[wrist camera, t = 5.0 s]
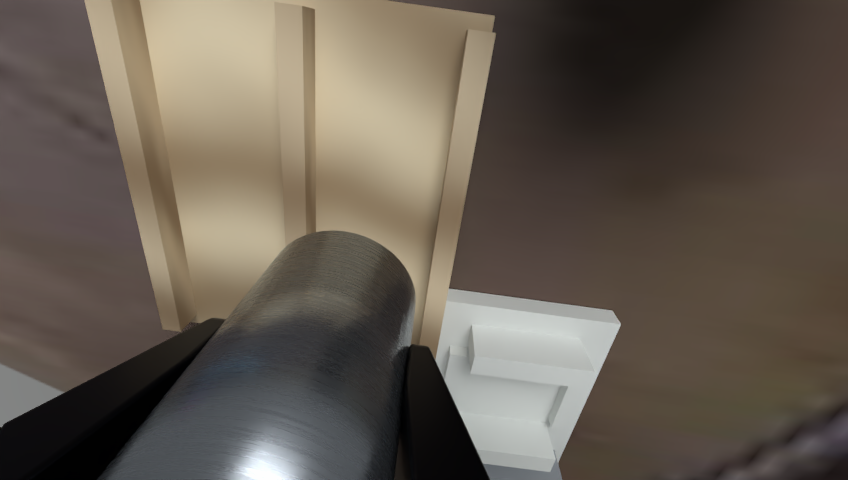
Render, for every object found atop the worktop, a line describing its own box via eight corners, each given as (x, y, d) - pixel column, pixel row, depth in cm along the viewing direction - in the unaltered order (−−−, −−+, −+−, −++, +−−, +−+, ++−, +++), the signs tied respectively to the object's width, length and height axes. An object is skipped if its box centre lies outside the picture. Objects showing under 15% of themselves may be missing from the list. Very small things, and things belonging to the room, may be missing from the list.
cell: (407, 361, 11) (340, 893, 4) (272, 343, 11) (-25, 850, 4) (424, 242, 9) (356, 823, 2) (263, 220, 9) (-285, 743, 2)
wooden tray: (434, 337, 19) (432, 373, 17) (196, 305, 19) (165, 338, 17) (490, 17, 13) (499, 13, 11) (135, -33, 13) (73, -48, 11)
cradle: (544, 467, 24) (557, 525, 21) (414, 450, 23) (409, 506, 21) (612, 310, 18) (643, 360, 15) (443, 287, 18) (442, 333, 15)
